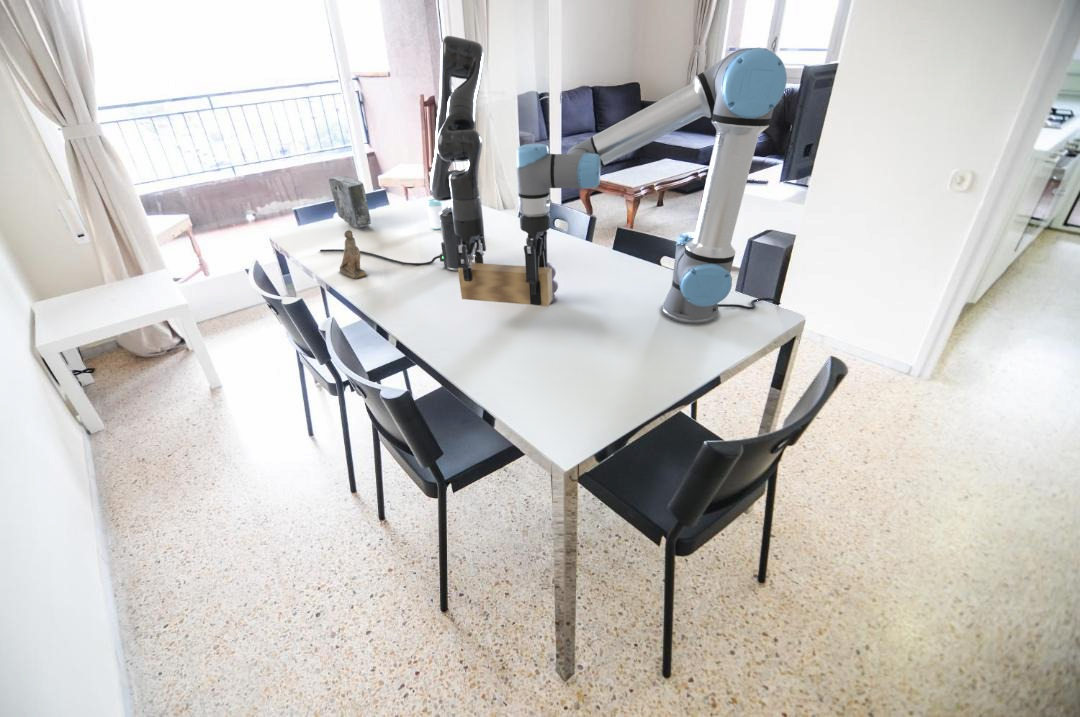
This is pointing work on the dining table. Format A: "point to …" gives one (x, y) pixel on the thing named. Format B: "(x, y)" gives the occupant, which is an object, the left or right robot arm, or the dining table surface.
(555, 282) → the cat figurine
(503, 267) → the bar
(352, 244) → the worn brown figurine
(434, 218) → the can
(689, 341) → the dining table surface
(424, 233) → the dining table surface
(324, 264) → the dining table surface
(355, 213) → the concrete block
